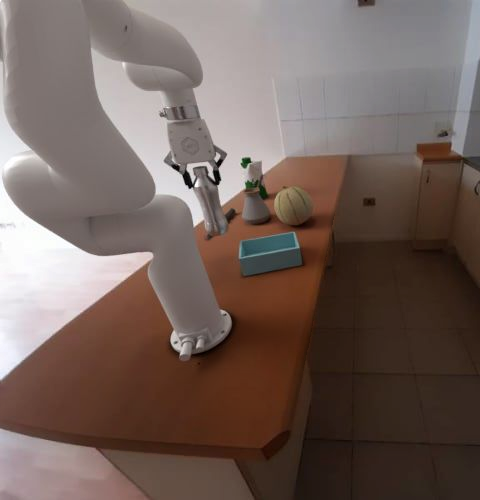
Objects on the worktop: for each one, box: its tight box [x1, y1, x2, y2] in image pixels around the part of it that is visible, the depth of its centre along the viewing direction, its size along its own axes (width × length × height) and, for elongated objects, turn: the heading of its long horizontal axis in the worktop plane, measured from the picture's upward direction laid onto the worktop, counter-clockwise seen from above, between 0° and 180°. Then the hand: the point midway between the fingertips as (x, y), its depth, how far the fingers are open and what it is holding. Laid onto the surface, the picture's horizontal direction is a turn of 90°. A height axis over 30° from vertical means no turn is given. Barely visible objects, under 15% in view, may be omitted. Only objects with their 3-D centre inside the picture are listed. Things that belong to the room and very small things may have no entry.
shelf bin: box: [238, 231, 303, 277], centre depth 85 cm, size 11×17×6 cm, turn 104°
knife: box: [206, 207, 236, 240], centre depth 112 cm, size 24×5×3 cm, turn 168°
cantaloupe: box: [273, 185, 314, 226], centre depth 106 cm, size 15×15×15 cm
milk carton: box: [238, 156, 268, 200], centre depth 134 cm, size 9×9×20 cm
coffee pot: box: [241, 174, 272, 225], centre depth 115 cm, size 21×12×15 cm, turn 174°
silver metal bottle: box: [192, 165, 230, 237], centre depth 80 cm, size 6×7×20 cm
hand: (204, 185), depth 77 cm, fingers closed on silver metal bottle, 6 cm apart
